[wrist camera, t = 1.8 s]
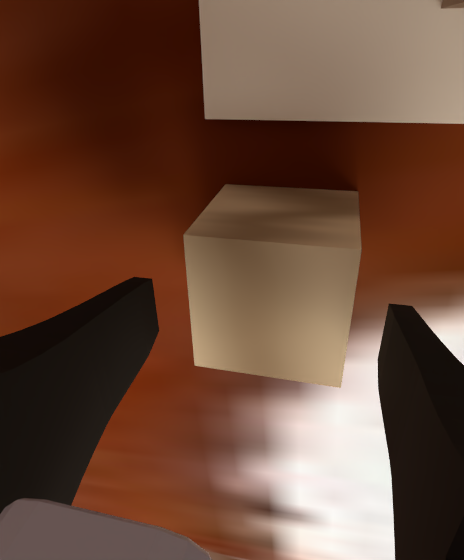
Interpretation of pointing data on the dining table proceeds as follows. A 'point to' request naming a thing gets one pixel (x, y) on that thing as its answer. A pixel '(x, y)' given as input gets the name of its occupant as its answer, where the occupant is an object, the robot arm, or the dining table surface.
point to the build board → (333, 60)
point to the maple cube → (274, 281)
